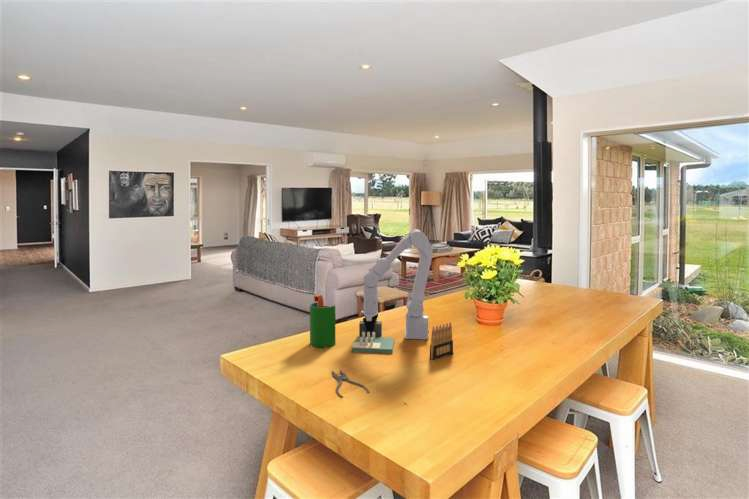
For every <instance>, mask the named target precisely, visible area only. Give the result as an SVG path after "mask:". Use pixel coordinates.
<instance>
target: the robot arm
mask: <svg viewBox="0 0 749 499" xmlns="http://www.w3.org/2000/svg"><path fill="white" fill-rule="evenodd" d="M413 246H414V248H415V249H417V251H418V252H419V254H420V256H419V260H418V264H417V267H416V268H417V269H416V273H415V278H414V281H413V282H414V283H413V286H412V291H411V293H410V296H409V298H408V299H407V301H406V304H405V305H406V306H405V307H406V308H407V312H406V313H405V332H404V339H406V340H428V339H429V334H430V329H429V316H428V315H424V310H425V308H424V306H423V305H424V294H425V289H426V286H427V281H428V277H429V272H430V270H431V268H430V267H431V264H432V260H433V254H434V251H433V248H432V245H431V244H430V241H429V237H428V236H426V234H425V233H424V232H423V231H422V230H420V229H416V228H415V229H412V230H410V231H409V233H408V234H406V235H404V236H403V238H401V239H400V240H399V242H398V243H397V244H396V245H395V247H393V249H392V250H391V251H390V252H389V253H388V255H386V257H380V258H379V259H376V261H375V262H376V263H375V264H374V265H373V266H372V267H371V268H369V269H368V271H367V272H365V274H364V275H363V283H364V284H363V310H361V311H360V314H363V315H364V317H363V318H362V321H363V322H364V323H365V326H366V330H367V332H370V335H372V332H374V326H375V323H376V321H377V320H378V317H379V308H378V305H379V291H378V285H379V280H381V279H382V278H383V277H384V276H385V275H386V274H387V273H388V272H389V271H390V270H391V268H392V264H393V262H394V261H395V260H396V259H397V258H398V257H399V256H400V255H401V254H402V253H403V252H404V251H405V250H410V249H412V248H413Z"/></svg>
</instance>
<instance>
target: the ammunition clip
mask: <svg viewBox="0 0 749 499" xmlns="http://www.w3.org/2000/svg"><path fill="white" fill-rule="evenodd" d="M452 328H453V326H452V323H451V321H449V323H448V322H446V323H443V324H439V326H438V325H436V326H432V329H431V330H432V331H431V337H430V345H429V359H430V360H432V361H435V360H438V359H440V358H444V357H447V356H451V355H453V354H454V340H453V329H452Z"/></svg>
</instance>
